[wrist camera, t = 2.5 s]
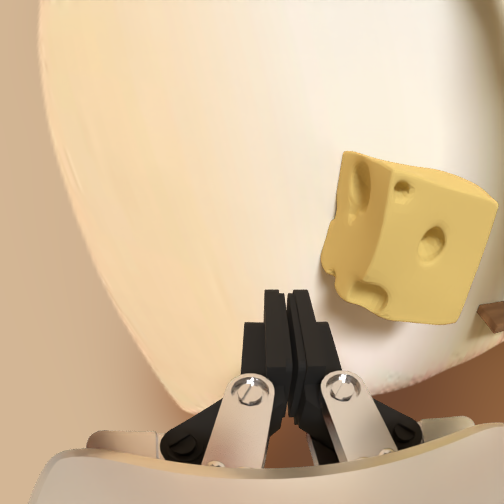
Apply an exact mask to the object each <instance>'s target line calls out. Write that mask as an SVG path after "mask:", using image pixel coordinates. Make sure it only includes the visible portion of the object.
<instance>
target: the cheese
mask: <svg viewBox="0 0 504 504" xmlns="http://www.w3.org/2000/svg"><path fill="white" fill-rule="evenodd" d="M498 206H499V205H498V203H497V202H496V201H495V200H494V199H493V198H492V197H491V196H490V195H489V194H488V193H486V192H485V191H484V190H483V189H482V188H480V187H479V186H478V185H476V184H474V183H472V182H470V181H468V180H466V179H463V178H461V177H459V176H456V175H453V174H450V173H447V172H444V171H440V170H436V169H430V168H423V167H415V166H409V165H404V164H398V163H393V162H389V161H384V160H380V159H376V158H372V157H369V156H366V155H363V154H360V153H357V152H353V151H344V153H343V157H342V163H341V169H340V175H339V182H338V188H337V212H336V216H335V219H334V220H332V221H331V222H330V225H329V229H328V233H327V236H326V240H325V243H324V246H323V249H322V253H321V263H322V267H323V269H324V270H325V272H326V273H327V274H330V275H332V276H334V277H335V289H336V291H337V293H338V295H339V296H340V297H341V298H342V299H343V300H344V301H346V302H348V303H352V304H357V305H360V306H362V307H364V308H366V309H367V310H369V311H371V312H372V313H374V314H375V315H377V316H379V317H381V318H384V319H387V320H392V321H402V322H412V323H422V324H433V325H446V324H451V323H455V322H456V321H457V319H458V318H459V315H460V313H461V311H462V308H463V306H464V303H465V301H466V298H467V295H468V293H469V290H470V287H471V284H472V282H473V279H474V277H475V274H476V271H477V269H478V266H479V263H480V261H481V258H482V255H483V252H484V249H485V246H486V244H487V241H488V238H489V235H490V232H491V229H492V226H493V223H494V219H495V216H496V213H497V210H498Z"/></svg>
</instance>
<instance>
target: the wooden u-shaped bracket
mask: <svg viewBox="0 0 504 504" xmlns="http://www.w3.org/2000/svg"><path fill="white" fill-rule="evenodd" d="M477 313H478V314H479V315H480V316H481V318H482V319H483V320H484V321H485V323H486V324H487V325H488V326H489V328H490V329H491V330H492V332H493V333H498V332H501V331H504V301H501V302H495V303H489V304H482V305H480V306H479V308H478V310H477Z"/></svg>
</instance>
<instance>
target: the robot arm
mask: <svg viewBox="0 0 504 504" xmlns="http://www.w3.org/2000/svg"><path fill="white" fill-rule="evenodd" d="M287 402H288V415H289V417H294V424H295V425H299V428H300V429H302V430H303V431H305V432H306V438H307V442H308V445H309V448H310V452H311V455H312V458H313V462H314V465H315V466H309V467H297V468H271V469H270V468H269V469H264V466H265V461H266V455H267V450H268V444H269V439H270V436H271V435H272V434H274V433H275V432H276V431H277V430H279V429H280V427H281V421H282V418H283V417H285V412H286V407H287ZM28 504H504V423H485V424H480V425H476V426H475V424H474V422H473V421H472V420H471V419H470V418H468V417H466V416H457V417H448V418H435V419H422V420H421V421H420V422H416V421H415V420H413V419H412V418H410V417H408V416H406V415H404V414H402V413H400V412H398V411H396V410H394V409H392V408H390V407H388V406H386V405H384V404H383V403H381V402H379V401H377V400H375V399H373V398H372V397H371V395H370V393H369V391H368V389H367V387H366V385H365V383H364V382H363V380H362V379H361V378H360V377H359V376H358V375H356V374H354V373H352V372H349V371H343V370H342V369H341V365H340V361H339V358H338V354H337V351H336V347H335V344H334V341H333V337H332V334H331V330H330V327H329V324H328V322H316V320H315V316H314V312H313V308H312V304H311V300H310V297H309V293H308V290H293V293H288V298H287V310H286V304H285V296H284V293H279V290H265V294H264V323H255V322H245V324H244V337H243V351H242V365H241V375H239V376H237V377H235V378H233V379H232V380H231V381H230V382H229V384H228V385H227V387H226V390H225V393H224V397H223V398H222V399H221V400H219V401H217V402H216V403H214V404H213V405H211V406H210V407H208V408H206V409H205V410H203V411H202V412H200V413H198V414H197V415H195V416H193V417H192V418H190V419H188V420H187V421H185V422H183V423H181V424H180V425H178V426H176V427H175V428H173V429H171V430H170V431H168V432H167V433H164V434H157V433H156V432H154V431H153V432H152V431H150V432H149V431H147V432H146V431H138V432H137V431H133V432H132V431H108V430H103V431H97V432H95V433H93V434H92V435H91V436H90V437H89V439H88V442H87V445H86V448H82V449H72V450H66V451H62V452H60V453H58V454H56V455H55V456H53V457H52V458H51V459H50V460H49V461H48V463H47V464H46V465H45V467H44V469H43V470H42V472H41V474H40V476H39V478H38V480H37V482H36V484H35V486H34V489H33V492H32V494H31V497H30V500H29V503H28Z"/></svg>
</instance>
